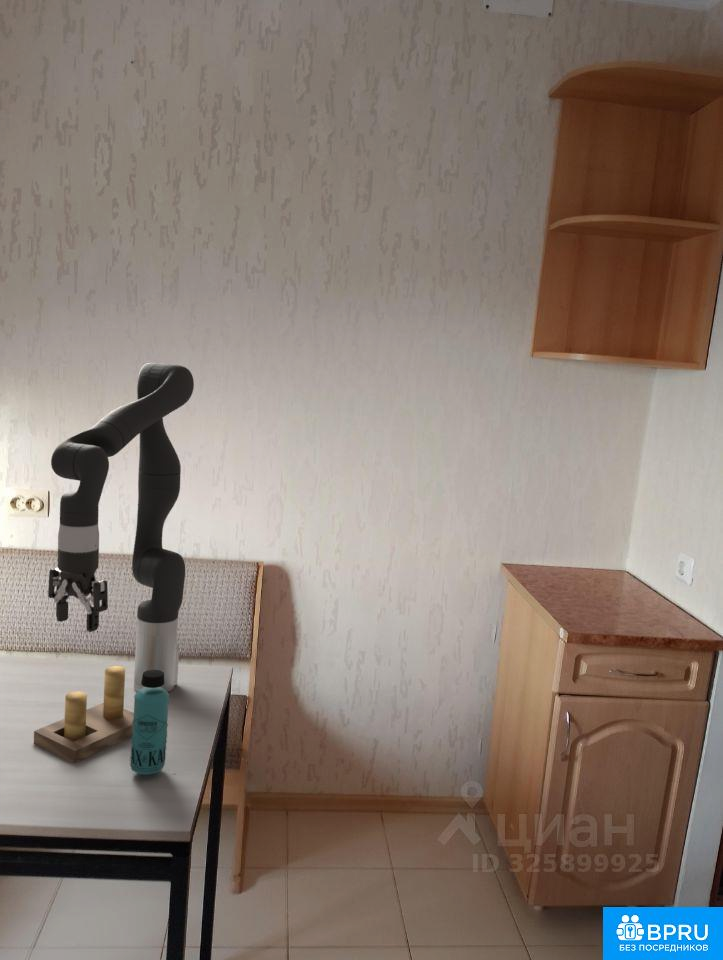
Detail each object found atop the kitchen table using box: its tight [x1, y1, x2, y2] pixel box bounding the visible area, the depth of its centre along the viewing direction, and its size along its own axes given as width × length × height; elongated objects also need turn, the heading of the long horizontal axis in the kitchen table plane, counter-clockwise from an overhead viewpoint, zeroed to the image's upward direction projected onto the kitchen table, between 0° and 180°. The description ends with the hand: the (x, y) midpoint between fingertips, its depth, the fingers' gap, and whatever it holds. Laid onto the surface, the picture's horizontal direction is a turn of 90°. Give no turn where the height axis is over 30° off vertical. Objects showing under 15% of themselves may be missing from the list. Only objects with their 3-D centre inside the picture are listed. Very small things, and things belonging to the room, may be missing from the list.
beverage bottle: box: [129, 670, 170, 775], centre depth 147 cm, size 6×7×20 cm
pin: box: [64, 690, 88, 742], centre depth 156 cm, size 4×4×10 cm
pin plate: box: [33, 665, 134, 764], centre depth 159 cm, size 18×12×12 cm, turn 149°
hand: (77, 625), depth 156 cm, fingers open, 8 cm apart
